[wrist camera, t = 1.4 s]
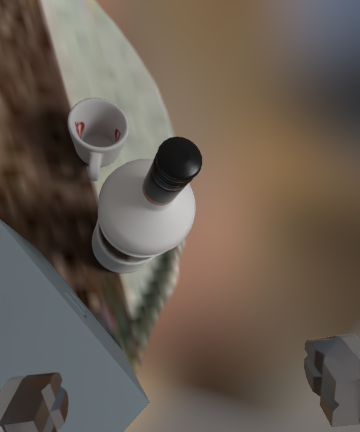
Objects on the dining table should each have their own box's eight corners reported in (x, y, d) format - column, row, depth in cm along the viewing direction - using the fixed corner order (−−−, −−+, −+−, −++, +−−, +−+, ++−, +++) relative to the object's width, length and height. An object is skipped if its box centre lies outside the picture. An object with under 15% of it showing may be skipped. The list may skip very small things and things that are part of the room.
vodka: (106, 204, 44) (133, 54, 16) (161, 226, 46) (272, 125, 18) (81, 260, 41) (60, 195, 13) (141, 282, 43) (236, 266, 15)
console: (72, 398, 37) (54, 508, 18) (-17, 290, 37) (-128, 289, 18) (122, 350, 40) (149, 402, 21) (39, 250, 40) (-7, 214, 21)
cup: (119, 193, 45) (124, 174, 38) (65, 186, 43) (60, 164, 35) (125, 132, 48) (131, 103, 40) (74, 123, 46) (71, 91, 38)
